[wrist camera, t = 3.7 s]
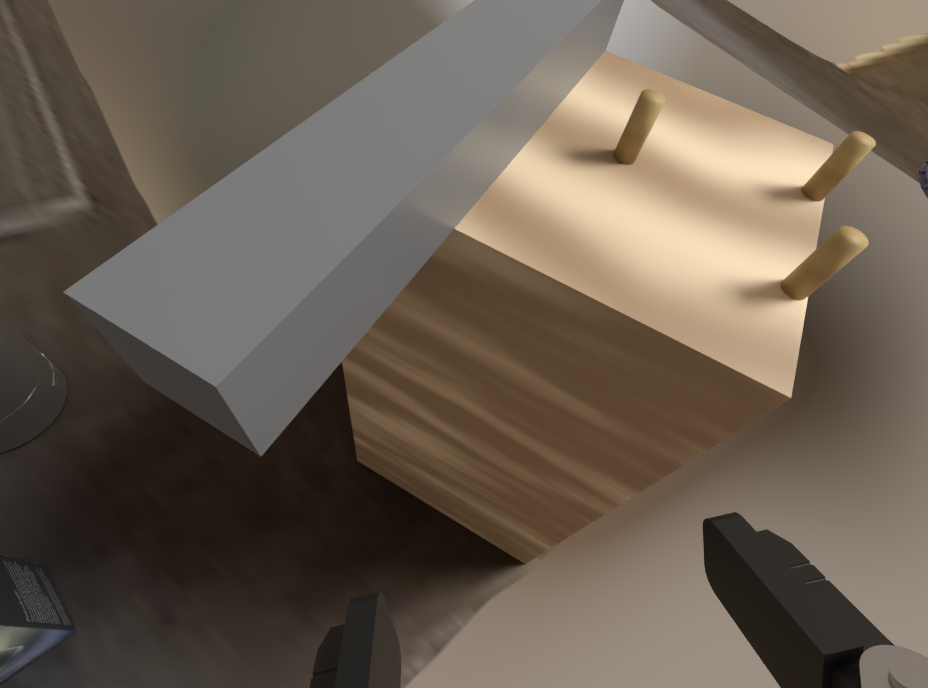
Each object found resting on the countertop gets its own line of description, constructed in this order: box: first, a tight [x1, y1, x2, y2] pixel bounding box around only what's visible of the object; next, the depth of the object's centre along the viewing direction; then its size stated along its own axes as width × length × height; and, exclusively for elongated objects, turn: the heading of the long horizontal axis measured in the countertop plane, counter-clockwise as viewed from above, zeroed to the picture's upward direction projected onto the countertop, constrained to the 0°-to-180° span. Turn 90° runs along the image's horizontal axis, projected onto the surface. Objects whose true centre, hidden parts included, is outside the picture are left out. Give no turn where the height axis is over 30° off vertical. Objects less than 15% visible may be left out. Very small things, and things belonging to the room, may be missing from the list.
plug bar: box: [63, 0, 624, 457], centre depth 16 cm, size 24×4×4 cm, turn 151°
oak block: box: [342, 51, 876, 564], centre depth 32 cm, size 15×17×34 cm
